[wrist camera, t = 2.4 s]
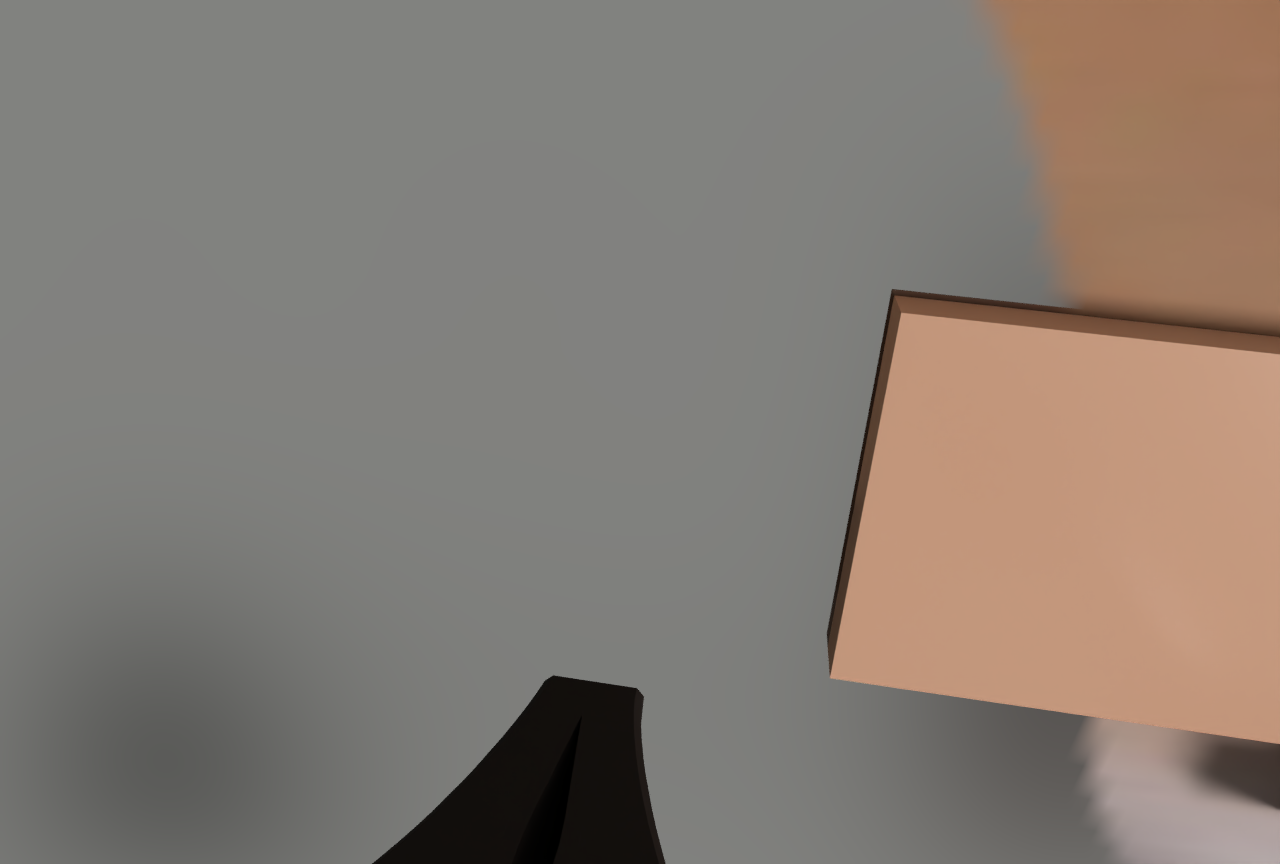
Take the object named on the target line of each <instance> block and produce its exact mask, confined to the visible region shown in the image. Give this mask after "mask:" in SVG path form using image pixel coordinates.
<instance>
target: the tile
mask: <svg viewBox="0 0 1280 864" xmlns="http://www.w3.org/2000/svg"><path fill="white" fill-rule="evenodd" d="M827 644H828V658H829V672H830V678H832V679H839V680H847V681H852V682H859V683H867V684H873V685H880V686H887V687H894V688H900V689H907V690H914V691H921V692H928V693H934V694H942V695H948V696H955V697H962V698H969V699H975V700H982V701H989V702H996V703H1003V704H1010V705H1017V706H1024V707H1030V708H1038V709H1044V710H1051V711H1058V712H1064V713H1071V714H1078V715H1085V716H1092V717H1098V718H1105V719H1112V720H1119V721H1126V722H1133V723H1139V724H1146V725H1153V726H1160V727H1167V728H1174V729H1180V730H1187V731H1194V732H1201V733H1208V734H1215V735H1221V736H1228V737H1235V738H1242V739H1249V740H1256V741H1262V742H1269V743H1276V744H1280V337H1275V336H1266V335H1256V334H1247V333H1238V332H1229V331H1219V330H1210V329H1201V328H1192V327H1182V326H1173V325H1164V324H1155V323H1145V322H1136V321H1127V320H1118V319H1108V318H1099V317H1090V316H1080V315H1071V314H1068V308H1064V307H1055V306H1046V305H1037V304H1027V303H1018V302H1009V301H999V300H990V299H980V298H972V297H962V296H952V295H944V294H934V293H925V292H916V291H907V290H906V291H905V290H897V289H892V290H891V296H890V301H889V306H888V311H887V317H886V322H885V327H884V333H883V338H882V343H881V348H880V354H879V359H878V365H877V370H876V375H875V380H874V385H873V391H872V396H871V401H870V407H869V412H868V417H867V423H866V428H865V433H864V438H863V444H862V449H861V454H860V460H859V465H858V470H857V475H856V481H855V486H854V491H853V497H852V502H851V508H850V513H849V518H848V523H847V528H846V534H845V539H844V544H843V549H842V555H841V560H840V566H839V571H838V576H837V581H836V587H835V592H834V597H833V603H832V608H831V613H830V618H829V624H828V629H827Z"/></svg>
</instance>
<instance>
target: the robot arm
mask: <svg viewBox="0 0 1280 864" xmlns="http://www.w3.org/2000/svg"><path fill="white" fill-rule="evenodd" d="M643 699H644V696H643V695H642V694H641V692H639V690H638V689H637V688H632V687H625V686H619V685H612V684H606V683H599V682H592V681H585V680H579V679H573V678H566V677H560V676H552V677H550V678H548V679H547V680H545V681H544V683H543V685H542V686H541V687H540V689H539V690H538V692H537V693H536V695H535V696H534V697H533V699H532V700H531V702H530V703H529V704H528V706H527V707H526V708H525V710H524V711H523V712H522V714H521V715H520V716H519V717H518V719H517V720H516V721H515V722H514V724H513V725H512V726H511V727H510V728H509V730H508V731H507V732H506V733H505V735H504V736H503V737H502V738H501V739H500V740H499V742H498V743H497V744H496V745H495V746H494V747H493V748H492V749H491V751H490V752H489V753H488V754H487V755H486V756H485V757H484V759H483V760H482V761H481V762H480V763H479V764H478V765H477V767H476V768H475V769H474V770H473V771H472V772H471V773H470V774H469V775H468V776H467V777H466V778H465V779H464V780H463V781H462V782H461V783H460V784H459V786H457V787H456V788H455V790H453V791H452V792H451V793H450V794H449V795H448V796H447V797H446V798H445V799H444V800H443V801H442V802H441V803H440V804H439V805H438V806H437V807H436V808H435V809H434V810H433V811H432V812H431V813H430V814H429V815H428V816H427V817H426V818H425V819H424V820H423V821H422V822H420V823H419V824H418V825H417V826H416V827H415V828H414V829H413V830H412V831H410V832H409V833H408V834H407V835H406V836H405V837H404V838H402V839H401V840H400V841H399V842H398V843H397V844H396V845H394V846H393V847H392V848H391V849H390V850H388V851H387V852H386V853H385V854H383V855H382V856H381V857H380V858H379V859H378V860H376V861H375V862H374V863H372V864H665V860H664V857H663V853H662V849H661V845H660V842H659V838H658V834H657V830H656V826H655V821H654V817H653V812H652V807H651V802H650V796H649V791H648V785H647V780H646V774H645V767H644V760H643V749H642V739H641V719H642V709H643Z"/></svg>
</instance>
